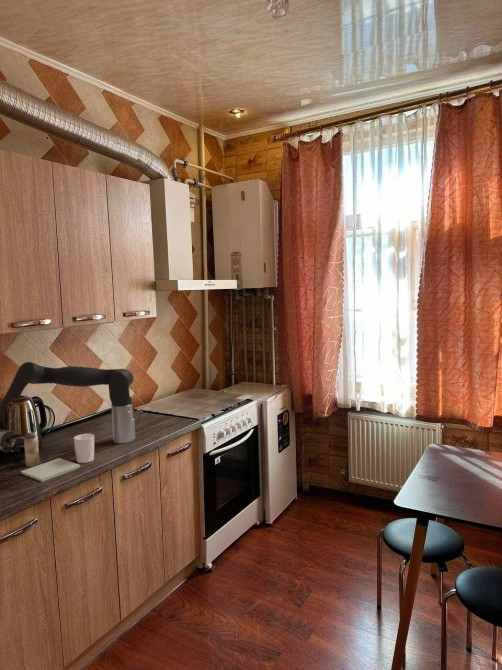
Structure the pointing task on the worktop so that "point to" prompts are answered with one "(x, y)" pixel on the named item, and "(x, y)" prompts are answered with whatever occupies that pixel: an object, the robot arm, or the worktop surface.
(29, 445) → the pepper mill
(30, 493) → the worktop surface
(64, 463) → the board
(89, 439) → the white cup
